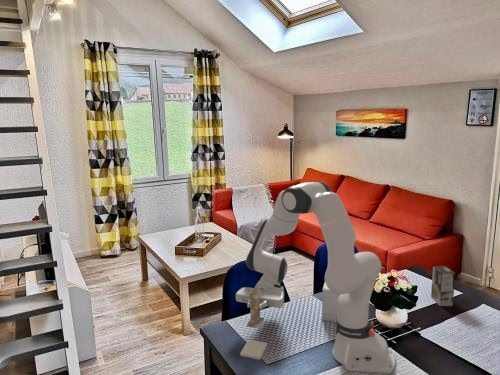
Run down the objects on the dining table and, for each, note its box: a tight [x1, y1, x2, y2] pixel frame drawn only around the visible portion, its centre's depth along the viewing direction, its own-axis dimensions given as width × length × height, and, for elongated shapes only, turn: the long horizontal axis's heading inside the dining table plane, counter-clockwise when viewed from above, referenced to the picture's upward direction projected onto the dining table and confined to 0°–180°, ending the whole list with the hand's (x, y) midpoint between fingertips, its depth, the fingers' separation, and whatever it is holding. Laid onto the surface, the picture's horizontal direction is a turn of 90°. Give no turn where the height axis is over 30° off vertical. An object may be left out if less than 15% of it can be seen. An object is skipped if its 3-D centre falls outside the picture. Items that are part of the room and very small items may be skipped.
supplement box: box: [321, 282, 340, 323], centre depth 167 cm, size 9×9×15 cm
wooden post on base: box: [246, 290, 265, 329], centre depth 151 cm, size 5×7×14 cm
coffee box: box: [430, 265, 456, 307], centre depth 177 cm, size 9×6×16 cm
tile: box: [239, 339, 268, 361], centre depth 147 cm, size 8×2×9 cm
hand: (254, 306), depth 150 cm, fingers closed on wooden post on base, 3 cm apart
